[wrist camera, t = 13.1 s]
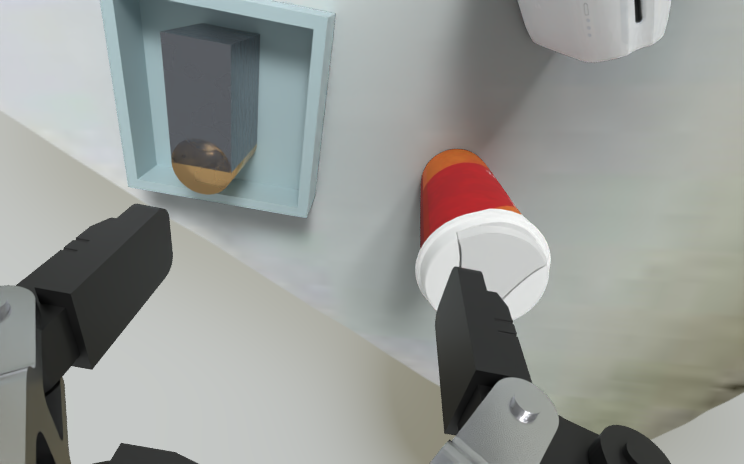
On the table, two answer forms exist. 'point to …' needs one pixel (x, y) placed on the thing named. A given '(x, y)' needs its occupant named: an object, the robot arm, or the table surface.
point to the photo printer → (595, 26)
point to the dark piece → (210, 102)
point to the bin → (275, 99)
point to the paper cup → (477, 234)
